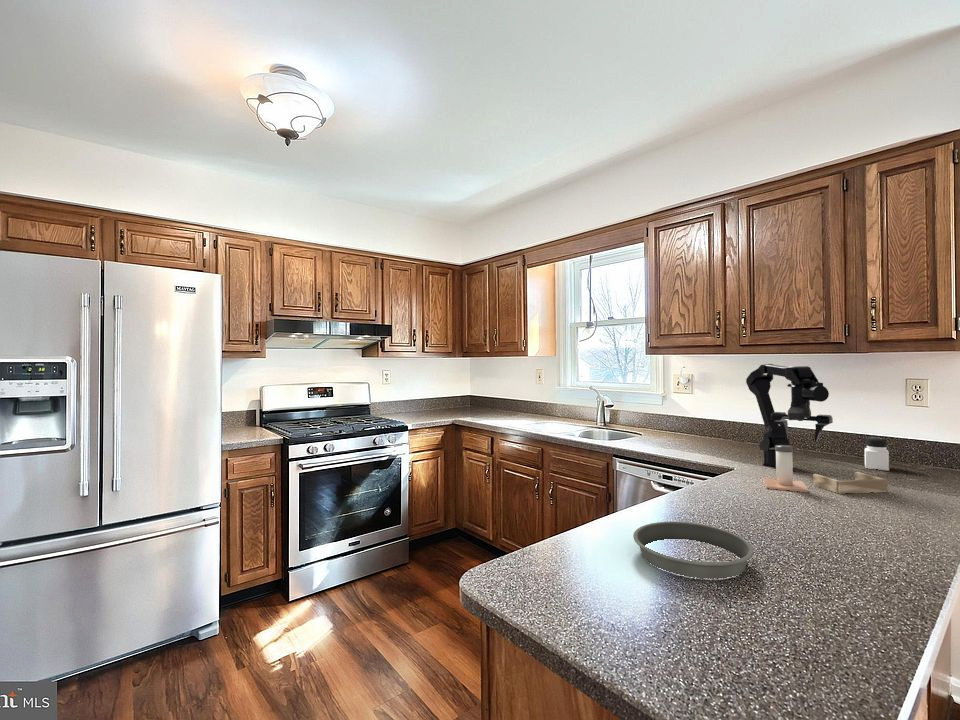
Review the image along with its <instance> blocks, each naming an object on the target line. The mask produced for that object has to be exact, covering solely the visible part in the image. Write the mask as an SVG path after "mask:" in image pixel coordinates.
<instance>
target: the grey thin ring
mask: <svg viewBox="0 0 960 720" xmlns="http://www.w3.org/2000/svg"><path fill="white" fill-rule="evenodd" d="M632 535H633V536H632V537H633V540H634V542H635V543H636V544H637V546H638V547H639V549H640V553H641V556H643V557H644V558H645V559H646V560H647V561H648V562H649V563H651V564H652V565H654V566H656V567H658V568H661V569H663V570H666V571H669V572H673V573H676V574H680V575H684V576H689V577H697V578H710V579H711V578H713V579H714V578H727V577H732V576H736V575H738V574H741V573H742V572H743V571H744V570H746V565H747V562H748V560H750V559H751V558H752V557H753V555H754V548H753V546H752V545H751V543H749V541H748V540H746V539H744V538H743V537H741V536H740V535H738V534H735V533H733V532H730V531H728V530H726V529H723V528H719V527H716V526H712V525H708V524H701V523H696V522H690V521H689V522H687V521H660V522H652V523H648V524H644V525H642V526H640V527H638V528H637V529H635V531H634V532H633V534H632ZM664 539H689V540H696V541H700V542H705V543H709V544H712V545H715V546H718V547H721V548H724V549H726V550H729V551H730V552H732V553H734V554H736V555H737V556H738V557H740V558H741V559H738V560H734V561H729V562H696V561H688V560H683V559H678V558H674V557H670V556H666V555H663V554H660V553H658V552H655V551H653V550H651V549H649V548H647V547H645V545H646V544H648V543H651V542H653V541H657V540H664ZM643 557H642V558H643ZM644 558H643V559H644ZM649 563H648V564H649ZM652 565H651V566H652ZM744 572H745V571H744ZM741 575H742V574H741Z"/></svg>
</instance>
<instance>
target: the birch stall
mask: <svg viewBox="0 0 960 720" xmlns="http://www.w3.org/2000/svg"><path fill="white" fill-rule="evenodd" d="M812 485H815V486H814V487H816V486H817V488H819V487H821V488H820V489H822V488H824V489H823V490H825V489H827V490H826V491H828V490H830V491H829V492H831V491H833V492H832V493H834V492H836V493H835V494H838V493H839V494H838V495H846V494H845V493H855V494H868V493H869V494H871V493H870V492H874V493H887V492H889V490H888V488H889V487H888V479H887V478H882V477H879V476H875V475H871V474H867V473H863V472H859V471H854V479H853V480H852V479H850V480H838V479H835V478H832V477H828V476H824V475H821V474H818V473H813V474H812Z"/></svg>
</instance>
